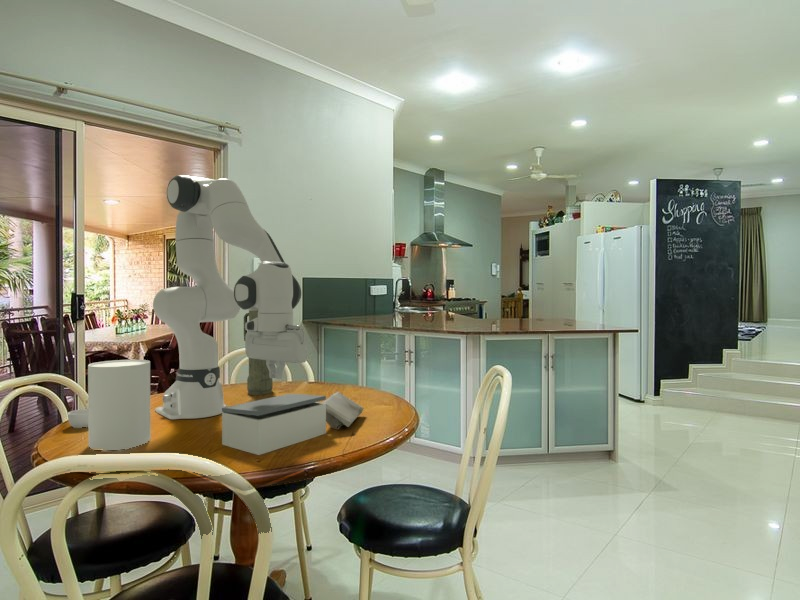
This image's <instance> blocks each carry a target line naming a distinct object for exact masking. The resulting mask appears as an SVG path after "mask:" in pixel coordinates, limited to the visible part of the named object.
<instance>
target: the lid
mask: <svg viewBox="0 0 800 600" xmlns="http://www.w3.org/2000/svg"><path fill="white" fill-rule="evenodd" d="M326 399H327V396H326V395H316V394H303V393H301V394H300V393H287V394H283V395H277V396H272V397H267V398H262V399H257V400H253V401H248V402H244V403H239V404H232V405H230V406H227V407H223V408H222V412H228V413H237V414H246V415H255V416H260V415H264V414H268V413H272V412H276V411H281V410H285V409H289V408H293V407H297V406H301V405H306V404H310V403H314V402H323V401H325V400H326Z"/></svg>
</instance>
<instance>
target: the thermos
mask: <svg viewBox="0 0 800 600" xmlns="http://www.w3.org/2000/svg"><path fill="white" fill-rule="evenodd" d="M257 317H258V311H249V310H248V312H246V313H245V315H244V316H243V341H244V342H245V337H246V333H247V332H248V331H247V330H245V323H246V322H248V321H251V320H253V319H255V318H257ZM246 381H247V383H246V384H247V386H246V387H247V388H246V389H247V394H248V395H250V396H251V395H253V396H263V395H269V394H271V393H272V392H273V378H270V377H269V370H268V367H267V365H266V360H262V359H253V358H248V377H247V380H246Z"/></svg>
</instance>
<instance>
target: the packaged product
mask: <svg viewBox="0 0 800 600" xmlns="http://www.w3.org/2000/svg"><path fill="white" fill-rule="evenodd" d="M321 403H324V404H326V424H328V426H329V427H330V428H332V429H335V430H337V431H338V430H340V429H341V427H343V426H345V427H347V428H349V427H350V426H351V425H352V424H353V422H354V421H355V420H356V419H357V418H358V417H359V416H360V415H362V413H363V411H364V407H363V406H361V405H359V404H358V403H357V402H355V401H353V400H352V399H351V398H349V397H347V396H346V395H344V394H343V393H342V392H340V391H336V392H335V393H333V394H331V395H330V396H329V397H327V398H326V400H322V401H321Z"/></svg>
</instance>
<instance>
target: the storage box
mask: <svg viewBox="0 0 800 600" xmlns="http://www.w3.org/2000/svg"><path fill="white" fill-rule="evenodd" d="M326 434H327V422H326V404H324V403H322V402H320V401H318V402H314V403H310V404H306V405H301V406H297V407H293V408H289V409H285V410H281V411H276V412H272V413H268V414H264V415H260V416H255V415H246V414H237V413H228V412H222V413H221V445H222V446H225V447H226V446H227V447H228V448H233V449H236V450H240V451H243V452H246V453H249V454H253V455H257V456H261V455H264V454H268V453H270V452H273V451H276V450H279V449H282V448H285V447H289V446H293V445H295V444H298V443H301V442H305V441H308V440H310V439H314V438H316V437H320V436H322V435H326Z"/></svg>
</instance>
